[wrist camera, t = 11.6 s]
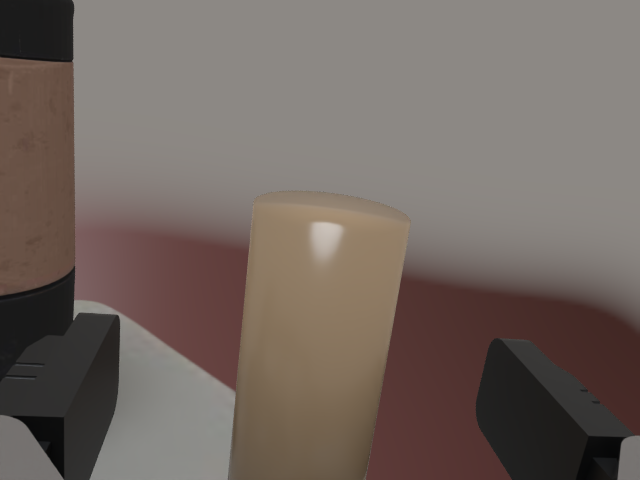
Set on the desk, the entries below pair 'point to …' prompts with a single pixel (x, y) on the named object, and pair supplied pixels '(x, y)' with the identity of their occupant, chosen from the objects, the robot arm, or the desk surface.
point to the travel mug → (36, 174)
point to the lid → (315, 335)
